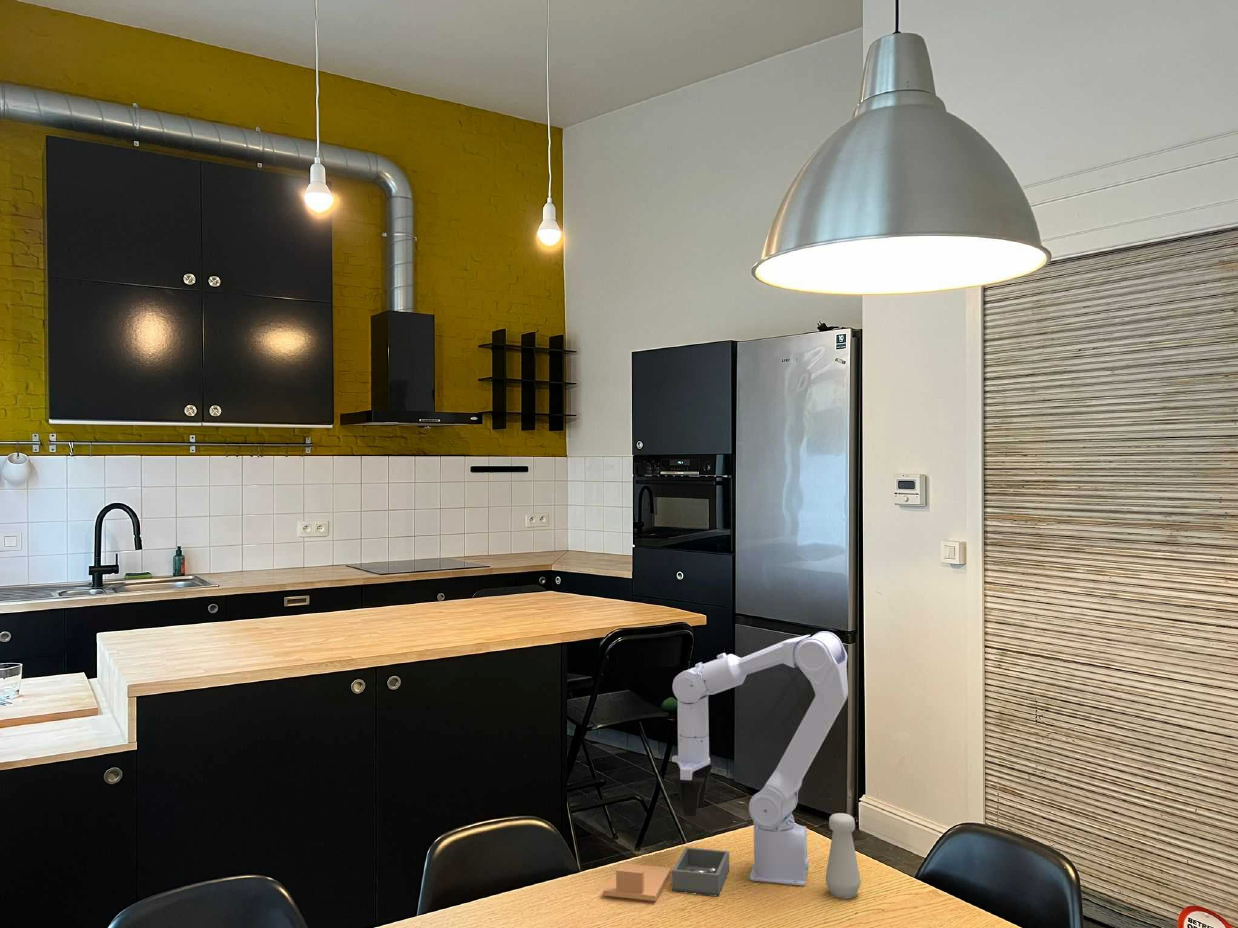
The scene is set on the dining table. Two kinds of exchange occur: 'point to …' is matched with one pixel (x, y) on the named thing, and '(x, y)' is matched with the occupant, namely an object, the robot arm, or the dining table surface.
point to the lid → (637, 882)
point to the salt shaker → (842, 858)
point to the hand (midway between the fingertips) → (694, 808)
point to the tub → (700, 871)
